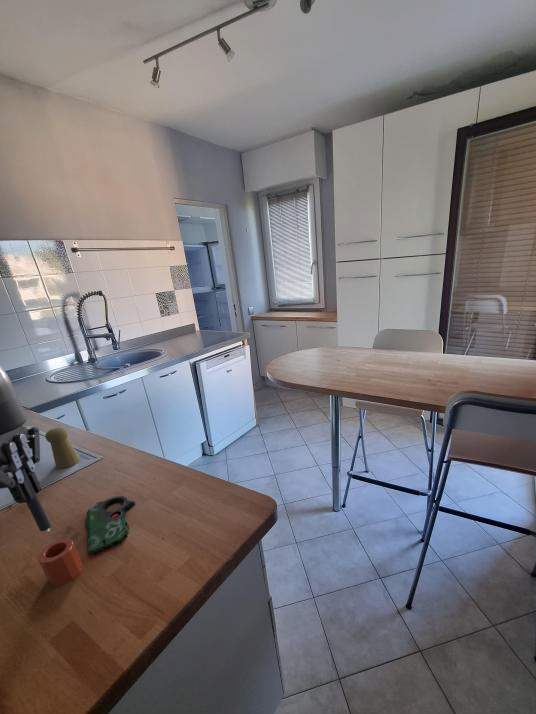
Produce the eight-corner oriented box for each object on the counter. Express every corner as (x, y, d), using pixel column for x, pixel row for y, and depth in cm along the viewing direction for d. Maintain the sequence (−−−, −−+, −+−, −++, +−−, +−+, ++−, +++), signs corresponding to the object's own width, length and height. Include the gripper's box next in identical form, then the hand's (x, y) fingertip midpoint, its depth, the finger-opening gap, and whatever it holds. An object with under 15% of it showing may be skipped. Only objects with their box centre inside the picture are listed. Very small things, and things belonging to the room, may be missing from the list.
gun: (141, 531, 68) (85, 554, 63) (143, 536, 69) (88, 559, 64) (131, 490, 81) (84, 507, 76) (133, 495, 82) (86, 512, 77)
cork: (52, 465, 97) (38, 431, 93) (74, 454, 101) (61, 422, 97) (61, 471, 94) (46, 436, 89) (83, 460, 98) (71, 427, 94)
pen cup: (44, 589, 59) (31, 564, 56) (59, 564, 63) (47, 541, 61) (75, 583, 59) (63, 559, 57) (88, 559, 64) (77, 536, 62)
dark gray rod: (39, 535, 57) (9, 474, 52) (44, 528, 58) (15, 469, 53) (49, 534, 57) (20, 473, 52) (54, 527, 58) (26, 467, 53)
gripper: (-12, 386, 53) (30, 475, 60) (-91, 424, 41) (-27, 531, 48) (38, 381, 54) (74, 469, 61) (-24, 416, 42) (30, 523, 49)
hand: (29, 496), depth 54 cm, fingers closed on dark gray rod, 1 cm apart
